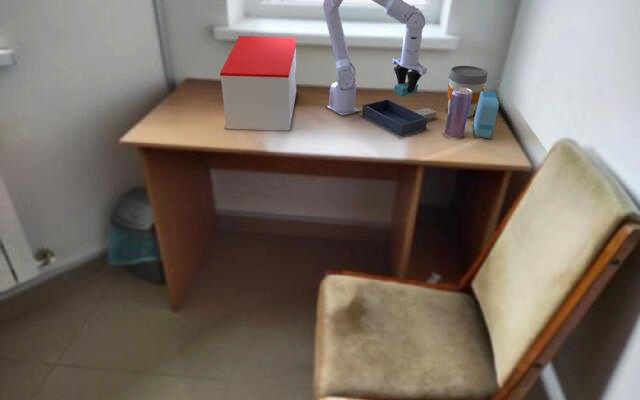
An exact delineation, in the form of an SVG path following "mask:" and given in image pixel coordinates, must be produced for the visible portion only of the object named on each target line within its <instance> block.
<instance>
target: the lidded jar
mask: <svg viewBox="0 0 640 400" xmlns="http://www.w3.org/2000/svg"><path fill="white" fill-rule="evenodd" d="M448 78H449V82H448V84H447V99H448V100H447V101H448V104H447V112H448V111H449V106H450V101H451V96H452V92H453V89H454V88H457V87H464V88H468V89H471V90H472V98H471V103H470V107H469V112H468V117H467V118H470V117H473V115H474V114H475V112H476V109H477V106H478V101H479V97H480V93H481V91H485V88H484V87H485V84H486V83H487V81H488V71H487V70H486V69H484V68H481V67H478V66H472V65H455V66H453V67H451V69H450V72H449V75H448Z"/></svg>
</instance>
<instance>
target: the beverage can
mask: <svg viewBox="0 0 640 400" xmlns="http://www.w3.org/2000/svg"><path fill="white" fill-rule="evenodd" d="M471 98H472V90H471V89H468V88H464V87H457V88H454V89H453V92H452V96H451V101H450V106H449V111H448V110H447V117H446V123H445V128H444V134H445V136H447V137H449V138H454V139H459V138H463V136H464V135H465V130H466V127H467V126H466V125H467V120H468V118H469V117H468V112H469V107H470V103H471Z"/></svg>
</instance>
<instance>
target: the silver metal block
mask: <svg viewBox="0 0 640 400" xmlns="http://www.w3.org/2000/svg"><path fill="white" fill-rule="evenodd" d="M413 111H414V112H416V113H418V114H420V115H422V116H425V117H427V118H428V119H427V121H429V120H434V119H436V117H437V111H436V110H434V109H432V108H430V107H425V108H422V109H421V108H420V109H418V110H413Z"/></svg>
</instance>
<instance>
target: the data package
mask: <svg viewBox="0 0 640 400" xmlns="http://www.w3.org/2000/svg"><path fill="white" fill-rule="evenodd" d="M499 107H500V102H499V99H498V95H497V92H494V91H485V90H483V91H481V93H480V97H479V101H478V103H477V106H476V109H475V113H474V114H475V115H474V119H473V130H474V134H475V137H476V138H481V139H491V138H492V135H493V130H494V127H495V124H496V119H497V117H498V116H497V115H498V112H499V109H500V108H499Z"/></svg>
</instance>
